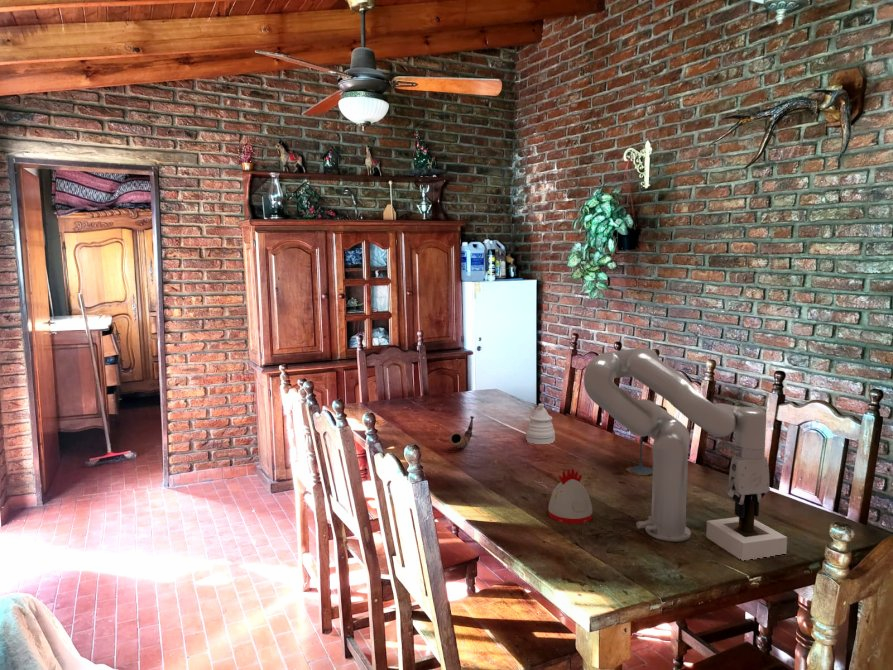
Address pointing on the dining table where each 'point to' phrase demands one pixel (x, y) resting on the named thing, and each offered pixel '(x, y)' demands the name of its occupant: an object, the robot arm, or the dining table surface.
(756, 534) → the pepper mill
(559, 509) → the kitchen timer
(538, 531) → the dining table surface
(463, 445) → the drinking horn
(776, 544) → the socket
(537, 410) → the honey pot
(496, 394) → the dining table surface
